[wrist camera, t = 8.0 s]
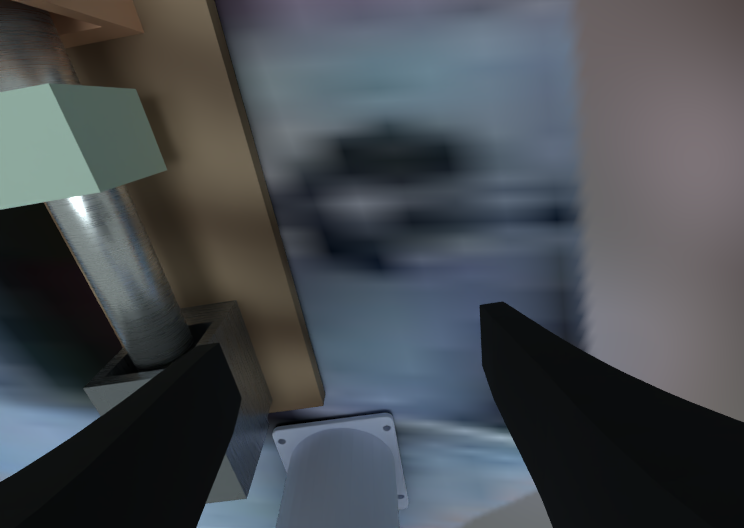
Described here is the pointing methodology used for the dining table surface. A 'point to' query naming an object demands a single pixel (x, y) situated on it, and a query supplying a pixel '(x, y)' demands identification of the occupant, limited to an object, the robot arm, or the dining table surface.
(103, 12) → the tube stand
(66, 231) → the tube
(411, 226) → the dining table surface
